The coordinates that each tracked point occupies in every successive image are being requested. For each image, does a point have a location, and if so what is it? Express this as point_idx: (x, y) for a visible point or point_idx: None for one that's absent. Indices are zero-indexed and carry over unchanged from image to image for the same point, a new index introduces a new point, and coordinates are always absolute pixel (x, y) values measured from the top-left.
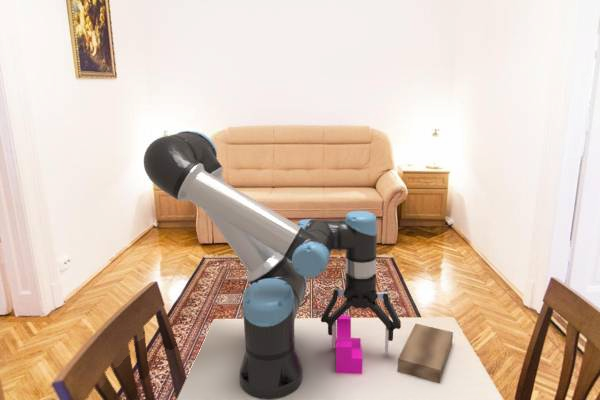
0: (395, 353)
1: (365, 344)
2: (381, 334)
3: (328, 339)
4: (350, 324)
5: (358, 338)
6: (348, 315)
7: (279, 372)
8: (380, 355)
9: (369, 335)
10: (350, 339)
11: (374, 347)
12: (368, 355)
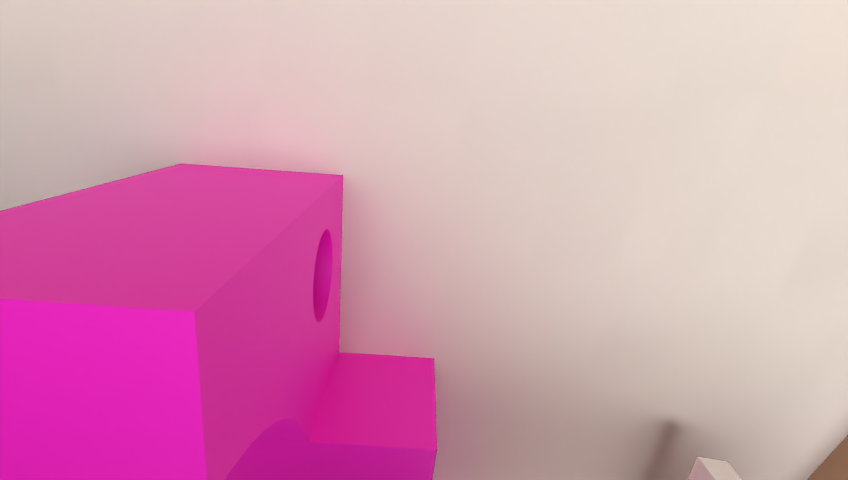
0: (760, 421)
1: (501, 279)
2: (745, 72)
3: (83, 180)
4: (251, 433)
5: (410, 447)
6: (121, 314)
7: None
8: (609, 446)
9: (586, 95)
10: (305, 450)
11: (585, 331)
12: (498, 445)
